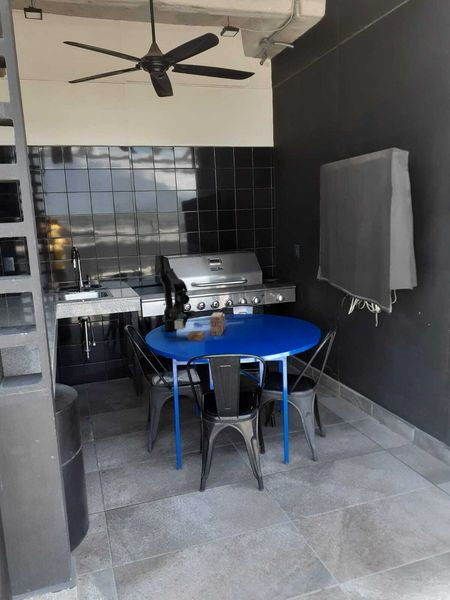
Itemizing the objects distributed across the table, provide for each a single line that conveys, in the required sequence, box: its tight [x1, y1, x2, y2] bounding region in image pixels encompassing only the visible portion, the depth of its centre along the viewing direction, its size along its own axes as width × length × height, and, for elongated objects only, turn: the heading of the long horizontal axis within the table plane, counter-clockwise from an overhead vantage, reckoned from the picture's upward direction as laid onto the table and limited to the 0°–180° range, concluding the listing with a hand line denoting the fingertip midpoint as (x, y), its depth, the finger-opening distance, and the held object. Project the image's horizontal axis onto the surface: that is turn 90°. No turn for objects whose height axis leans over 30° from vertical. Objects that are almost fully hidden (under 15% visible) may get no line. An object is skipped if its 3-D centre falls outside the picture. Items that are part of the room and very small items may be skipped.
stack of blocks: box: [209, 312, 226, 337], centre depth 291 cm, size 21×6×12 cm, turn 172°
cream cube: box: [175, 318, 187, 330], centre depth 278 cm, size 5×5×5 cm
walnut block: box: [187, 330, 206, 342], centre depth 275 cm, size 8×8×4 cm
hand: (180, 326), depth 279 cm, fingers closed on cream cube, 5 cm apart
